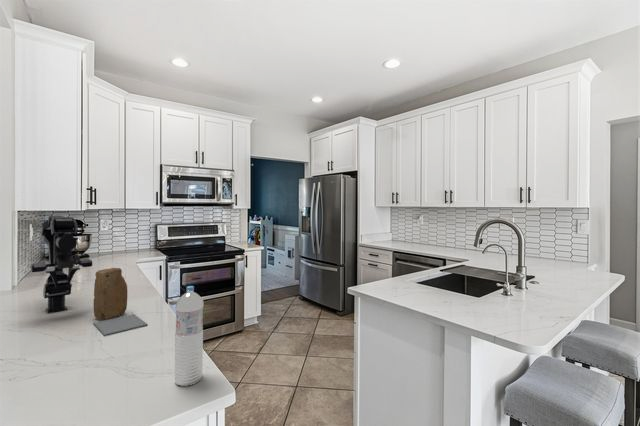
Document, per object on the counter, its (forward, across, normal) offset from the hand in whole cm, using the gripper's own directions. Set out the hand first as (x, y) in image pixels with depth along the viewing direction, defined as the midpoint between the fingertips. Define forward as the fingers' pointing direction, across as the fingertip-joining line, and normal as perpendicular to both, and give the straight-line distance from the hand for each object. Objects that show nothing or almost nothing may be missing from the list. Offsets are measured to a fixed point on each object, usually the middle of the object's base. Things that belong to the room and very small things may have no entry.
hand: (62, 286), depth 123 cm
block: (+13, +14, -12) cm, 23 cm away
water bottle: (+13, +15, -81) cm, 83 cm away
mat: (+13, +14, -25) cm, 31 cm away
